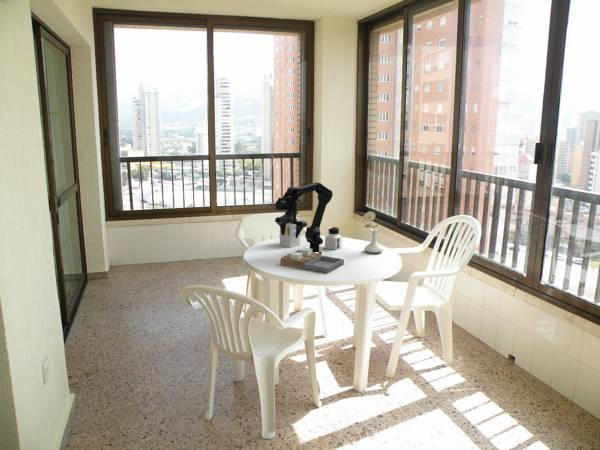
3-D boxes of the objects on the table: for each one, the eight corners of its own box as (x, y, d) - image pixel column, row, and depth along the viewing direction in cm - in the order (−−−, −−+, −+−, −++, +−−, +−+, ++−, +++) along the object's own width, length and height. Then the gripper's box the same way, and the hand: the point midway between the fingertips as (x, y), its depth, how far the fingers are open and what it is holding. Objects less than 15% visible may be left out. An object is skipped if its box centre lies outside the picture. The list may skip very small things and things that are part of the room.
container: (341, 247, 328) (342, 227, 325) (335, 250, 321) (336, 229, 318) (330, 245, 332) (331, 225, 329) (324, 248, 325) (325, 227, 322)
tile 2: (304, 251, 301) (304, 247, 300) (312, 253, 298) (312, 248, 298) (300, 253, 296) (300, 249, 296) (307, 255, 294) (308, 250, 293)
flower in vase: (382, 249, 324) (384, 210, 319) (383, 254, 313) (385, 213, 308) (361, 248, 325) (363, 209, 320) (361, 253, 314) (363, 212, 309)
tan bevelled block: (298, 256, 306) (298, 249, 305) (321, 260, 298) (321, 253, 297) (280, 264, 289) (280, 257, 288) (304, 269, 281) (304, 262, 280)
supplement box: (279, 245, 331) (279, 218, 327) (289, 242, 338) (289, 216, 334) (290, 247, 325) (290, 221, 321) (300, 245, 332) (300, 219, 328)
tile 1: (294, 256, 291) (294, 251, 291) (302, 257, 289) (302, 253, 288) (290, 258, 287) (290, 253, 286) (298, 259, 285) (298, 255, 284)
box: (321, 260, 298) (321, 255, 298) (343, 264, 292) (344, 259, 291) (304, 269, 281) (304, 263, 281) (327, 273, 275) (327, 268, 274)
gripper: (270, 208, 295) (268, 235, 297) (297, 213, 284) (295, 241, 287) (281, 207, 304) (279, 233, 306) (308, 211, 294) (306, 239, 296)
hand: (289, 236), depth 299 cm, fingers open, 9 cm apart
